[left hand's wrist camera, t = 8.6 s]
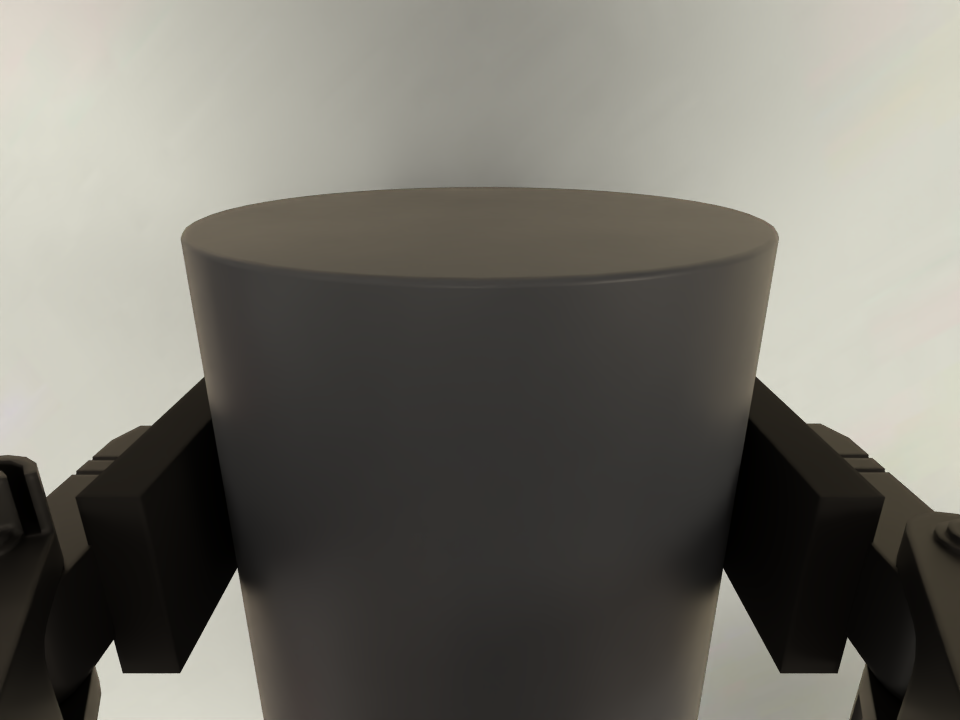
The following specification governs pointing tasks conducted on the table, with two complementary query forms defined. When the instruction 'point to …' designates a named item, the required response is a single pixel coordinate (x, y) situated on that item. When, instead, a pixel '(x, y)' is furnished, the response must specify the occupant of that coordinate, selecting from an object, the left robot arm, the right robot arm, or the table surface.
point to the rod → (480, 443)
